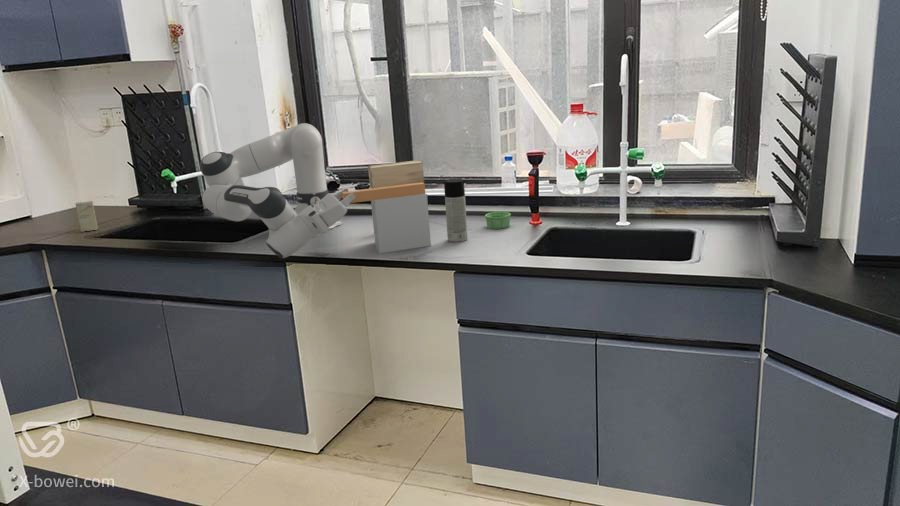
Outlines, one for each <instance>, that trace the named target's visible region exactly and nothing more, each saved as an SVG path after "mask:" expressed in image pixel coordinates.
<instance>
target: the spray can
mask: <svg viewBox="0 0 900 506" xmlns="http://www.w3.org/2000/svg"><path fill="white" fill-rule="evenodd" d="M464 182H465V180H464V179H461V178H451V179H447V180H445V181H444V183H443V185H444V186H443V187H444V203H445V217H446V218H445V219H446V220H445V221H446V232H447V234H446V235H447V241H448V242H451V243H459V242H460V243H461V242H465V241H467V240H468V225H467V209H466V207H467V206H466V191H465V190H466V189H465V183H464Z"/></svg>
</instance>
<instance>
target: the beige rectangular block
mask: <svg viewBox="0 0 900 506" xmlns="http://www.w3.org/2000/svg"><path fill="white" fill-rule="evenodd" d="M423 164H424V163H423V162H422V161H420V160H409V161H400V162H392V163H391V162H390V163H383V164H382V163H381V164H372V165H367V168H368V169H367V171H368V179H369V189H371V188H379V187H388V186H396V185H404V184H412V183H420V182H422V183H424V184H425V177H424V165H423Z"/></svg>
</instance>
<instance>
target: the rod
mask: <svg viewBox="0 0 900 506" xmlns="http://www.w3.org/2000/svg"><path fill="white" fill-rule="evenodd" d="M350 193H353V194H354V195H355V199H353V200H352V201H351V202H350V203H349V204H354V203H362V202H371V200H379V199H387V198H395V197H402V196H410V195H418V194H425V193H426V186H425V182H424V183H422V182H420V183H412V184H404V185H396V186H388V187H379V188H371V189H370V188H364V189H356V190H350V191H349V190H348V191H347V192H342V197H343V198H342V200H343V199H345V198H346V197H347V195H349V194H350Z"/></svg>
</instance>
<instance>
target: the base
mask: <svg viewBox="0 0 900 506" xmlns="http://www.w3.org/2000/svg"><path fill="white" fill-rule="evenodd" d="M370 203H371V217H372V225H373V235H374V236H373V237H374V244H375V250H376V251H377V252H378V253H379V254H385V253H390V252H398V251H405V250H411V249H417V248H418V249H419V248H424V247H430V246H432V243H431V230H430V218H429V216H430V215H429V206H428V203H429V202H428V194H427V193H426V192H425V194H418V195H410V196H402V197H395V198H387V199H379V200H371V201H370Z"/></svg>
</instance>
